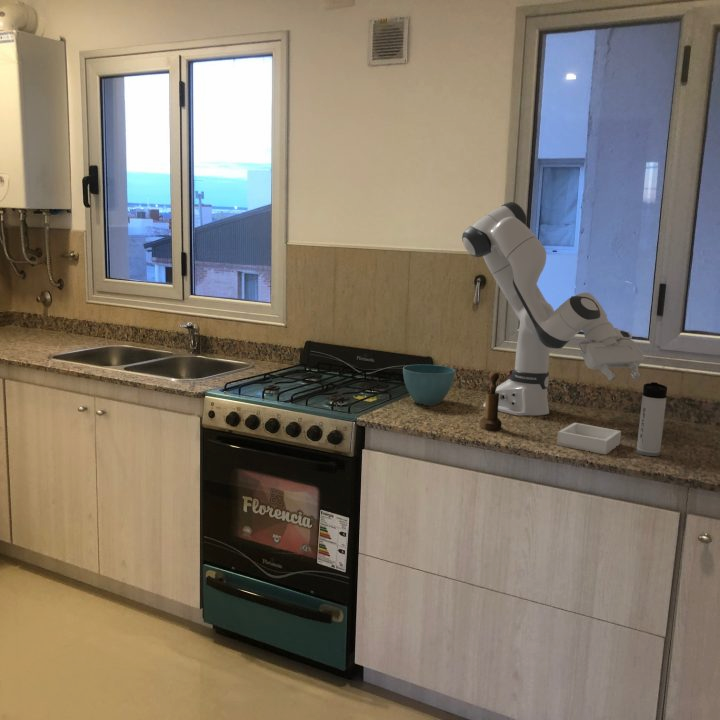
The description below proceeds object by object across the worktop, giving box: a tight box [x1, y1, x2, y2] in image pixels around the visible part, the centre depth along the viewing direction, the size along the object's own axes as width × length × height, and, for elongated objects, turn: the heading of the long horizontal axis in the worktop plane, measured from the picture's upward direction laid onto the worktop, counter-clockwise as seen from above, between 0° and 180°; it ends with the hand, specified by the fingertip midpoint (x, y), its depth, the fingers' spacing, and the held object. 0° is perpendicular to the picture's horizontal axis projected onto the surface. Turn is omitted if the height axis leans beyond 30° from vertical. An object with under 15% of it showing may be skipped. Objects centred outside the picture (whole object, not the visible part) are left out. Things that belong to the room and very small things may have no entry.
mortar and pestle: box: [479, 370, 502, 431], centre depth 229 cm, size 7×6×18 cm
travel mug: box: [636, 381, 668, 457], centre depth 208 cm, size 6×7×20 cm
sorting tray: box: [556, 422, 622, 456], centre depth 216 cm, size 14×14×4 cm
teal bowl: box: [402, 364, 456, 406], centre depth 261 cm, size 18×18×12 cm
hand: (624, 378), depth 215 cm, fingers open, 8 cm apart
